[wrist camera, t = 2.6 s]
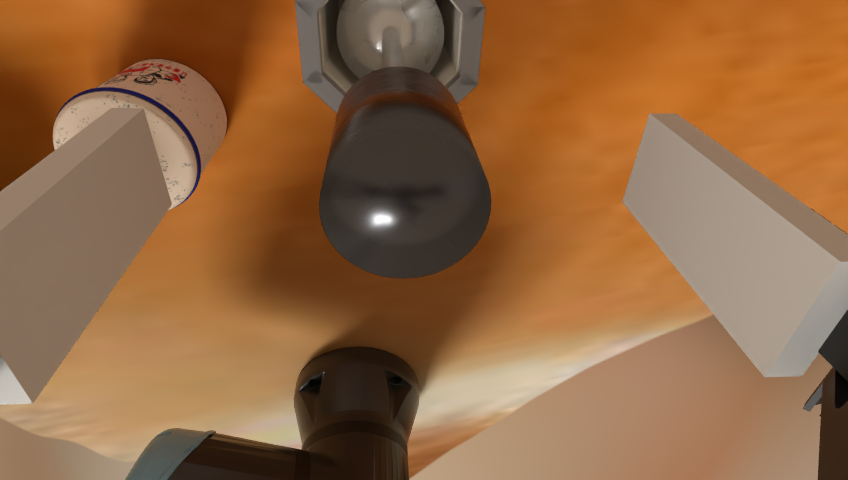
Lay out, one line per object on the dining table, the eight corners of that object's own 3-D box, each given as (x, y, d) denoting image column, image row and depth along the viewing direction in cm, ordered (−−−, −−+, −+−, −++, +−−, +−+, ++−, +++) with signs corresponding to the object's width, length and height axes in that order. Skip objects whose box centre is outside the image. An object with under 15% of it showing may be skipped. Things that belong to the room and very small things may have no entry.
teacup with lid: (193, 38, 37) (128, 84, 27) (251, 145, 42) (212, 215, 32) (54, 86, 38) (-56, 146, 28) (126, 184, 43) (54, 263, 33)
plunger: (439, 86, 30) (514, 304, 13) (340, 85, 29) (290, 310, 13) (445, -25, 26) (555, 83, 10) (334, -29, 26) (253, 79, 9)
